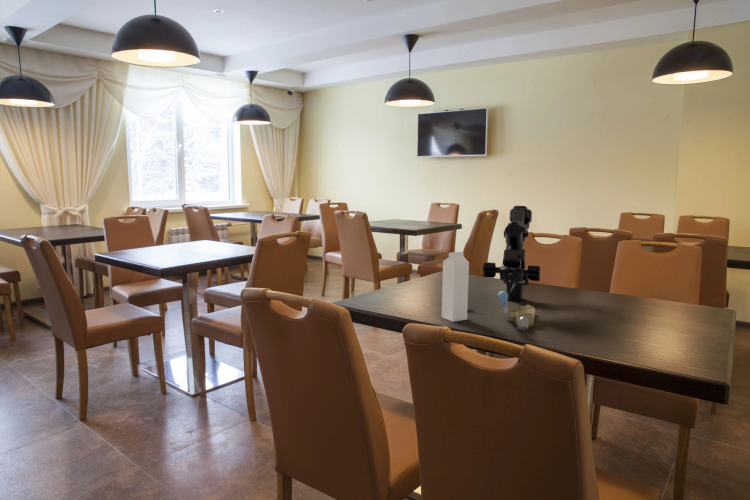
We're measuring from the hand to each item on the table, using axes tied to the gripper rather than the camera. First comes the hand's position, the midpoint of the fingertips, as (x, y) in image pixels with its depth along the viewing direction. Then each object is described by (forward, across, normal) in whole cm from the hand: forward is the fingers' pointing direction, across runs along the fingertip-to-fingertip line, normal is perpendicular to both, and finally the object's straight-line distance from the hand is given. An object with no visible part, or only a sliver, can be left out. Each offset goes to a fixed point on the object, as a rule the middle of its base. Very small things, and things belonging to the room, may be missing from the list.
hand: (508, 292), depth 166 cm
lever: (+7, 0, +2) cm, 7 cm away
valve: (+9, +5, +3) cm, 11 cm away
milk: (+12, -16, 0) cm, 20 cm away
